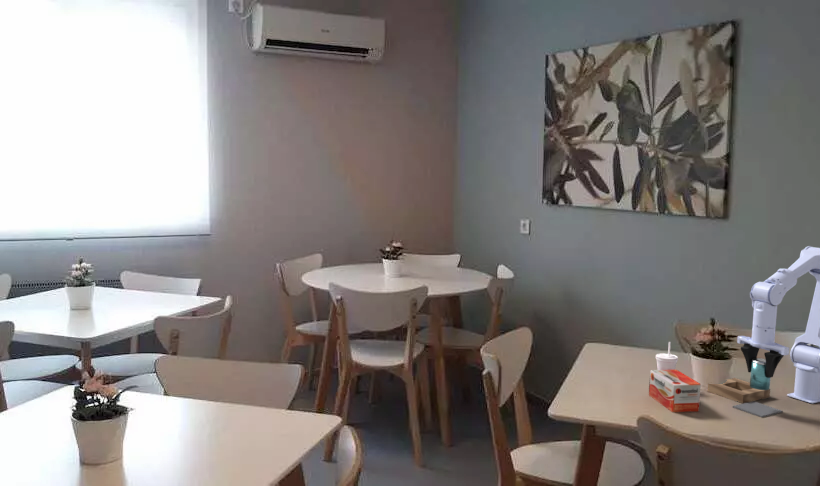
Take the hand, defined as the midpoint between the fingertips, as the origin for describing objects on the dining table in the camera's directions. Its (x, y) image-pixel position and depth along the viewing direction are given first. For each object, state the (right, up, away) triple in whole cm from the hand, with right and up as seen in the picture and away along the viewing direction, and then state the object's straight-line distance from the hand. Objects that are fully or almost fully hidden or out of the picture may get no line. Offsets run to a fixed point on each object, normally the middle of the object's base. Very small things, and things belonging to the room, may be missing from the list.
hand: (760, 374), depth 208 cm
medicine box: (-22, -10, +5) cm, 25 cm away
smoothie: (-19, -8, +20) cm, 29 cm away
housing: (0, -8, +15) cm, 17 cm away
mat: (0, -10, +1) cm, 10 cm away
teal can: (0, -4, +1) cm, 4 cm away
